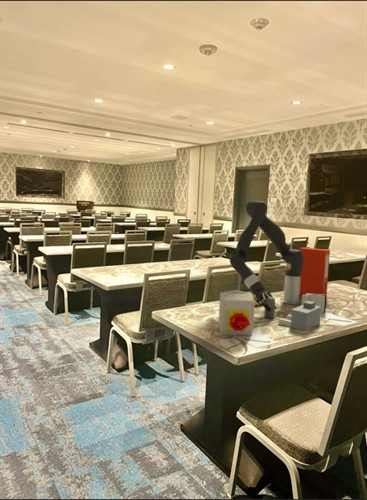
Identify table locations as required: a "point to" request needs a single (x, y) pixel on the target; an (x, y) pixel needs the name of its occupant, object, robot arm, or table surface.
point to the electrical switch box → (236, 313)
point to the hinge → (316, 300)
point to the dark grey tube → (271, 304)
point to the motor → (303, 316)
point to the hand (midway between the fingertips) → (272, 310)
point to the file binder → (314, 271)
